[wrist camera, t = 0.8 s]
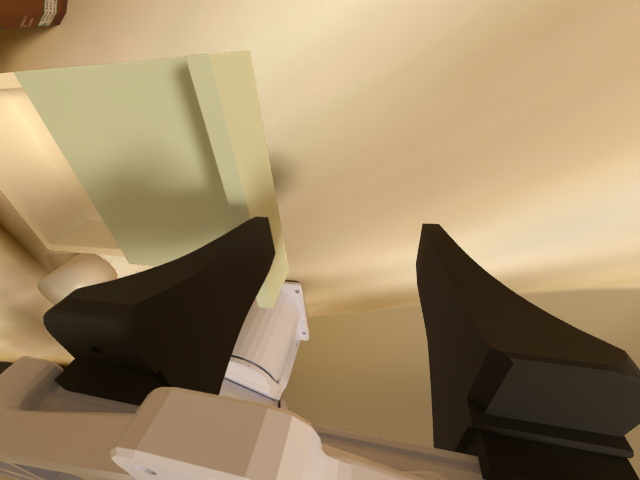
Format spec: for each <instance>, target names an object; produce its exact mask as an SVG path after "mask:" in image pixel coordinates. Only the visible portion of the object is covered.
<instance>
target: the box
mask: <svg viewBox="0 0 640 480" xmlns="http://www.w3.org/2000/svg"><path fill="white" fill-rule="evenodd" d="M0 191H1V192H2V193H3V194H4V196H5V197H6V198H7V199H8V201H9V202H10V203H11V204H12V206H13V207H14V208H15V209H16V211H17V212H18V213H19V214H20V216H21V217H22V218H23V219H24V221H25V222H26V223H27V224H28V226H29V227H30V228H31V229H32V231H33V232H34V233H35V234H36V236H37V237H38V238H39V239H40V241H41V242H42V243H43V244H44V246H45V247H46V248H47V249H48V250H52V251H64V252H76V253H88V254H100V255H112V256H124V257H125V255H124V254H123V252H122V251H121V249H120V247H119V246H118V244H117V242H116V241H115V239H114V237H113V236H112V234H111V232H110V231H109V229H108V227H107V226H106V224H105V223H104V221H103V219H102V218H101V216H100V214H99V213H98V211H97V209H96V208H95V206H94V204H93V203H92V201H91V199H90V198H89V196H88V195H87V193H86V191H85V190H84V188H83V186H82V185H81V183H80V181H79V180H78V178H77V176H76V175H75V173H74V171H73V170H72V168H71V167H70V165H69V163H68V162H67V160H66V158H65V157H64V155H63V153H62V152H61V150H60V148H59V147H58V145H57V143H56V142H55V140H54V139H53V137H52V135H51V134H50V132H49V130H48V129H47V127H46V125H45V124H44V122H43V120H42V119H41V117H40V115H39V114H38V112H37V111H36V109H35V107H34V106H33V104H32V102H31V101H30V99H29V97H28V96H27V94H26V92H25V91H24V89H23V87H22V86H21V84H20V83H19V81H18V79H17V78H16V76H15V74H14V73H13V72H10V73H0Z"/></svg>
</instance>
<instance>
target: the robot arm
mask: <svg viewBox="0 0 640 480" xmlns="http://www.w3.org/2000/svg"><path fill="white" fill-rule="evenodd" d="M275 254H276V252H275V248H274V243H273V238H272V233H271V228H270V223H269V219H268V217H254V218H251V219H249V220H248V221H246V222H244V223H242V224H241V225H239V226H237V227H236V228H234V229H232V230H231V231H229V232H227V233H226V234H224V235H222V236H221V237H219V238H217V239H215V240H214V241H212V242H210V243H208V244H206V245H204V246H203V247H201V248H199V249H197V250H195V251H193V252H191V253H189V254H186V255H184V256H182V257H180V258H178V259H175V260H173V261H170V262H167V263H165V264H162V265H159V266H157V267H154V268H151V269H149V270H146V271H143V272H139V273H136V274H133V275H130V276H126V277H123V278H119V279H115V280H112V281H107V282H103V283H99V284H94V285H90V286H86V287H81V288H77V289H76V290H74V291H73V292H71V293H70V294H69V295H67V296H66V297H65V298H64V299H62V300H61V301H60V302H59V303H57V304H56V305H55V306H53V307H52V308H51V309H50V310H48V311H47V312H46V313H45V315H44V316H43V318H44V325H45V327H46V329H47V330H48V332H49V333H50V334H51V335H52V336H53V337H54V338H55V339H56V340H57V341H58V342H59V343H60V344H61V345H62V346H63V347H64V348H65V349H66V350H67V351H68V352H69V353H70V354H71V355H72V356H73V357H74V358H75V359H74V360H73V361H72V362H71V363H70V364H69V365H68V366H67V367H66V368H65V369H64V370H63V369H62V368H61V367H60V366H59V365H57V364H56V363H54V362H51V361H48V360H44V359H39V358H33V357H28V356H23V357H21V358H19V359H18V360H17V361H16V362H15V363H14V364H12V365H11V366H10V367H9V368H8V369H7V370H5V371H4V372H3V373H2V374H1V375H0V474H3V475H6V476H9V477H12V478H15V479H18V480H639V478H638V476H637V474H636V473H635V471H634V469H633V467H632V466H631V464H630V462H629V460H628V459H627V458H632V457H633V456H634V452H633V450H632V448H631V447H630V445H629V443H628V441H627V440H626V438H625V437H624V435H625V434H626V433H628V432H629V431H630V430H632V429H633V428H635V427H636V426H637V425H639V424H640V370H639V368H638V367H637V366H636V364H635V363H634V362H633V361H632V359H631V358H630V357H629V355H628V354H627V353H626V352H625V351H624V350H622V349H620V348H618V347H615V346H613V345H611V344H609V343H607V342H605V341H603V340H600V339H598V338H596V337H594V336H592V335H590V334H588V333H585V332H583V331H581V330H579V329H577V328H575V327H573V326H571V325H569V324H568V323H566V322H564V321H562V320H560V319H558V318H556V317H554V316H552V315H551V314H549V313H547V312H545V311H544V310H542V309H540V308H539V307H537V306H535V305H533V304H532V303H530V302H528V301H527V300H526V299H524V298H522V297H521V296H519V295H518V294H516V293H515V292H513V291H512V290H510V289H509V288H507V287H506V286H505V285H503V284H502V283H501V282H499V281H498V280H497V279H495V278H494V277H493V276H491V275H490V274H489V273H488V272H486V271H485V270H484V269H483V268H482V267H481V266H479V265H478V264H477V263H476V262H475V261H474V260H473V259H472V258H470V257H469V256H468V255H467V254H466V253H465V252H464V251H463V250H462V249H461V248H460V247H459V246H458V245H457V244H456V242H455V241H454V240H453V239H452V238H451V237H450V236H449V235H448V234H447V233H446V231H445V230H444V229H443V228H442V227H441V226H440V225H439V224H422V231H421V237H420V243H419V249H418V255H417V261H416V272H417V286H418V291H419V297H420V302H421V307H422V312H423V318H424V323H425V328H426V334H427V341H428V352H429V364H430V379H431V396H432V415H433V439H434V448H432V447H426V446H421V445H417V444H411V443H406V442H401V441H396V440H391V439H386V438H381V437H376V436H371V435H366V434H361V433H356V432H351V431H346V430H341V429H336V428H331V427H325V426H321V425H316V424H310V422H308V421H306V420H305V419H303V418H302V417H300V416H298V415H297V414H295V413H293V412H291V411H288V410H287V405H286V402H285V401H284V400H282V399H280V396H281V393H282V392H283V390H284V389H285V387H286V385H287V383H288V380H289V376H290V373H291V370H292V366H293V363H294V360H295V356H296V353H297V349H298V346H299V342H300V340H308V339H309V331H308V325H307V318H306V312H305V305H304V298H303V292H302V286H301V284H300V283H297V282H287V281H285V282H284V284H283V286H282V289H281V291H280V293H279V295H278V298H277V300H276V302H275V305H274V307H273V309H271V308H263V307H258V303H257V300H256V296H257V295H258V293H259V291H260V289H261V287H262V285H263V283H264V281H265V279H266V277H267V275H268V273H269V271H270V269H271V266H272V263H273V260H274V257H275ZM297 290H298V291H297Z"/></svg>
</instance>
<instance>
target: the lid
mask: <svg viewBox="0 0 640 480" xmlns="http://www.w3.org/2000/svg"><path fill="white" fill-rule="evenodd" d="M13 73H14V74H15V76H16V78H17V79H18V81H19V83H20V84H21V86H22V87H23V89H24V91H25V92H26V94H27V96H28V97H29V99H30V101H31V102H32V104H33V106H34V107H35V109H36V111H37V112H38V114H39V115H40V117H41V119H42V120H43V122H44V124H45V125H46V127H47V129H48V130H49V132H50V134H51V135H52V137H53V139H54V140H55V142H56V143H57V145H58V147H59V148H60V150H61V152H62V153H63V155H64V157H65V158H66V160H67V162H68V163H69V165H70V167H71V168H72V170H73V171H74V173H75V175H76V176H77V178H78V180H79V181H80V183H81V185H82V186H83V188H84V190H85V191H86V193H87V195H88V196H89V198H90V199H91V201H92V203H93V204H94V206H95V208H96V209H97V211H98V213H99V214H100V216H101V218H102V219H103V221H104V223H105V224H106V226H107V227H108V229H109V231H110V232H111V234H112V236H113V237H114V239H115V241H116V242H117V244H118V246H119V247H120V249H121V251H122V252H123V254H124V255H125V257H126V259H127V260H128V262H129V264H138V265H149V266H159V265H162V264H165V263H167V262H170V261H173V260H175V259H178V258H180V257H182V256H184V255H186V254H189V253H191V252H193V251H195V250H197V249H199V248H201V247H203V246H204V245H206V244H208V243H210V242H212V241H214V240H215V239H217V238H219V237H221V236H222V235H224V234H226V233H227V232H229V231H231V230H232V229H234V228H236V227H237V226H239V225H241V224H242V223H244V222H246V221H248V220H249V219H251V218H254V217H268V219H269V223H270V228H271V233H272V238H273V243H274V248H275V252H276V254H275V257H274V260H273V263H272V266H271V269H270V271H269V273H268V275H267V277H266V279H265V281H264V283H263V285H262V287H261V289H260V291H259V293H258V295H257V296H256V300H257V303H258V307H263V308H271V309H273V307H274V305H275V302H276V300H277V298H278V295H279V293H280V291H281V289H282V286H283V284H284V282H285V279H286V277H287V275H288V272H289V266H288V261H287V255H286V250H285V244H284V238H283V233H282V227H281V222H280V216H279V211H278V205H277V199H276V194H275V188H274V183H273V177H272V172H271V166H270V160H269V155H268V149H267V144H266V138H265V132H264V127H263V121H262V116H261V110H260V105H259V99H258V93H257V88H256V82H255V77H254V71H253V65H252V60H251V54H250V51H244V52H230V53H216V54H203V55H192V56H185V57H176V58H165V59H154V60H143V61H132V62H120V63H109V64H98V65H87V66H76V67H64V68H53V69H42V70H31V71H20V72H13Z"/></svg>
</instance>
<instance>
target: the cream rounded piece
mask: <svg viewBox="0 0 640 480" xmlns="http://www.w3.org/2000/svg"><path fill="white" fill-rule="evenodd" d="M115 279H117V273H116V271H115V269H114V268H113V267H112V266H111V265H110V264H109V263H108V262H107V261H106V260H104V259H103V258H101V257H100V256H98V255H96V254H88V253H79V254H78V255H76V256H75V257H73V258H72V259H71V260H69V261H68V262H66V263H65V264H63V265H62V266H60V267H59V268H57V269H56V270H55V271H53V272H52V273H50V274H49V275H47V276H46V277H44V278H43V279H41V280H40V281H39V282H38V283H37V286H38V289H39V291H40V292H41V293H42V294H43V295H44V296H45V297H46V298H47V299H48V300H49V301H50V302H52V303H53V304H55V305H56V304H57V303H59V302H60V301H61V300H62V299H64V298H65V297H66V296H67V295H69V294H70V293H71V292H73V291H74V290H76V289H77V288H81V287H86V286H90V285H94V284H99V283H103V282H107V281H112V280H115Z"/></svg>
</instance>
